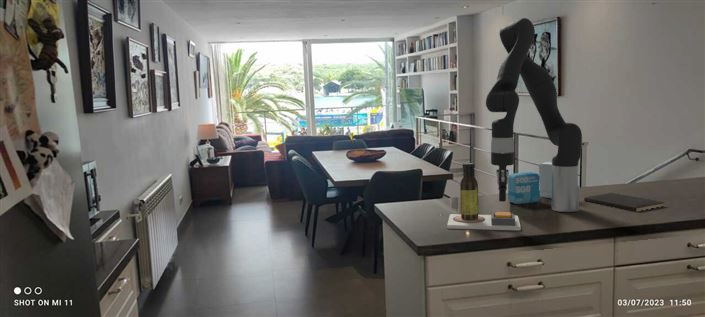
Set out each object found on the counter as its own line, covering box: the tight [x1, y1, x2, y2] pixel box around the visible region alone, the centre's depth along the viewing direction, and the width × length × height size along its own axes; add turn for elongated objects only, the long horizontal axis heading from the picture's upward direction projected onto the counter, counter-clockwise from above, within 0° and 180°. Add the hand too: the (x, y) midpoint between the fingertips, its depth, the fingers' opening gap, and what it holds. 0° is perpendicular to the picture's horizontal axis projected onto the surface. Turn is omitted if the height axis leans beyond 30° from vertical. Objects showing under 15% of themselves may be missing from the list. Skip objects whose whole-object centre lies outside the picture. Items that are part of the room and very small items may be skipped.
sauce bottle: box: [459, 162, 480, 220], centre depth 182 cm, size 6×6×20 cm
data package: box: [507, 171, 540, 205], centre depth 212 cm, size 12×4×12 cm, turn 106°
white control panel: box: [446, 212, 522, 231], centre depth 181 cm, size 24×16×4 cm, turn 76°
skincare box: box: [538, 161, 552, 199], centre depth 220 cm, size 8×6×15 cm
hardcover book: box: [583, 192, 665, 213], centre depth 203 cm, size 16×23×2 cm
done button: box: [494, 211, 512, 218], centre depth 176 cm, size 5×5×2 cm
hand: (502, 201), depth 176 cm, fingers closed
